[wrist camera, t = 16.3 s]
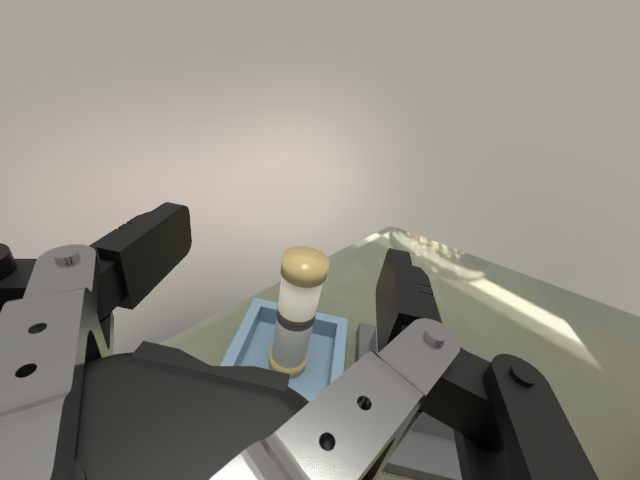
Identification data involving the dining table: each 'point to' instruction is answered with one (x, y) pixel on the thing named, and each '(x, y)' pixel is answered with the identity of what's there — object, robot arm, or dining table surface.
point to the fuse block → (417, 435)
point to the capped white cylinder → (297, 308)
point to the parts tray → (322, 350)
